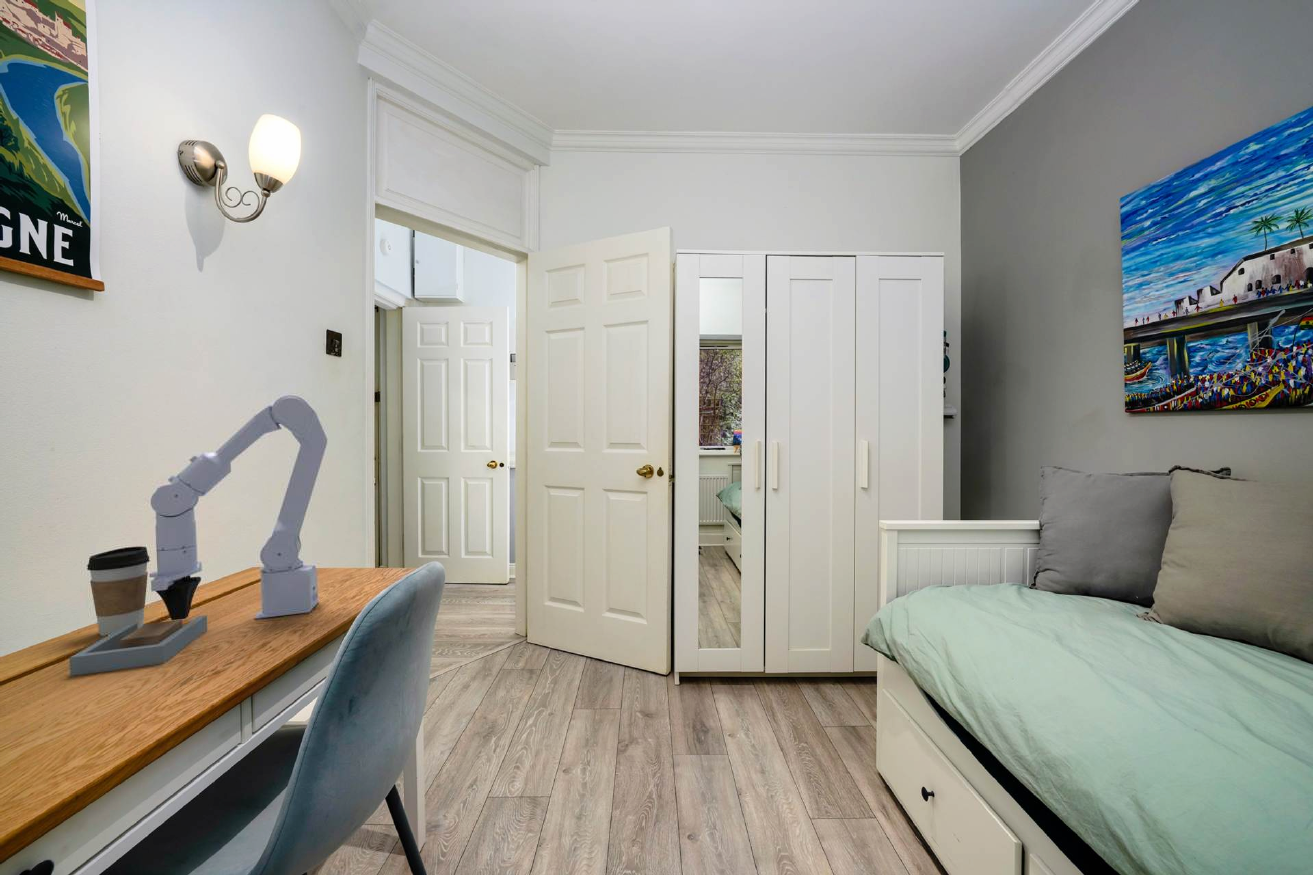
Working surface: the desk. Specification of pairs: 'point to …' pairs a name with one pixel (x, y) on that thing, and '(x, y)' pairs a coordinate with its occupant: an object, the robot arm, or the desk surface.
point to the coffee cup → (119, 587)
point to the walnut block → (151, 634)
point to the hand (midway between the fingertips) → (179, 618)
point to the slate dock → (133, 650)
